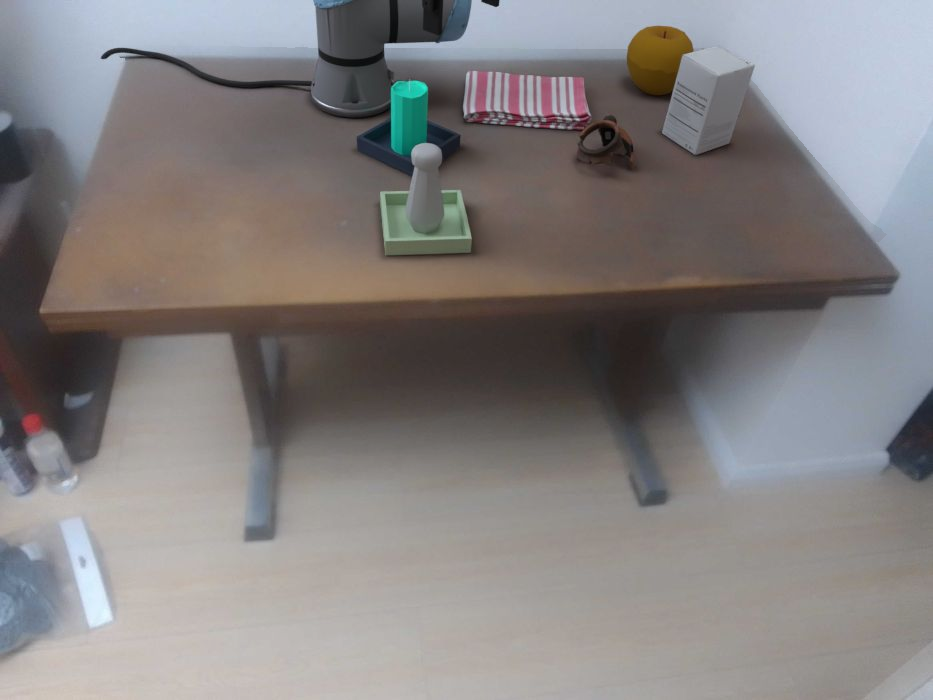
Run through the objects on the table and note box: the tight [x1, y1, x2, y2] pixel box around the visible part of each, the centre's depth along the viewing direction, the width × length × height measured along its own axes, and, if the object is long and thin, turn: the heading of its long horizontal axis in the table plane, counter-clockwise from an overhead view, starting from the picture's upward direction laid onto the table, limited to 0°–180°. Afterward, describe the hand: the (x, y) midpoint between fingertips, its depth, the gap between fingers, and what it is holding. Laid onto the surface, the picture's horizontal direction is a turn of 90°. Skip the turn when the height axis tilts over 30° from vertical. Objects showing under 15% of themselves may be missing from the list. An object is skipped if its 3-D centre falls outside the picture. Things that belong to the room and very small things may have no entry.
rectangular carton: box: [661, 44, 756, 156], centre depth 134 cm, size 9×9×15 cm
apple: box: [626, 25, 695, 96], centre depth 149 cm, size 13×13×11 cm
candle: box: [390, 78, 429, 156], centre depth 125 cm, size 6×6×12 cm
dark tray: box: [356, 117, 462, 177], centre depth 129 cm, size 12×12×3 cm
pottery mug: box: [576, 114, 635, 171], centre depth 130 cm, size 12×10×8 cm
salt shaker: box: [405, 143, 444, 234], centre depth 109 cm, size 6×6×13 cm
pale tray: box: [379, 189, 473, 256], centre depth 114 cm, size 12×12×3 cm
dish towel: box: [462, 69, 592, 131], centre depth 143 cm, size 17×23×4 cm
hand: (462, 17), depth 108 cm, fingers open, 13 cm apart
